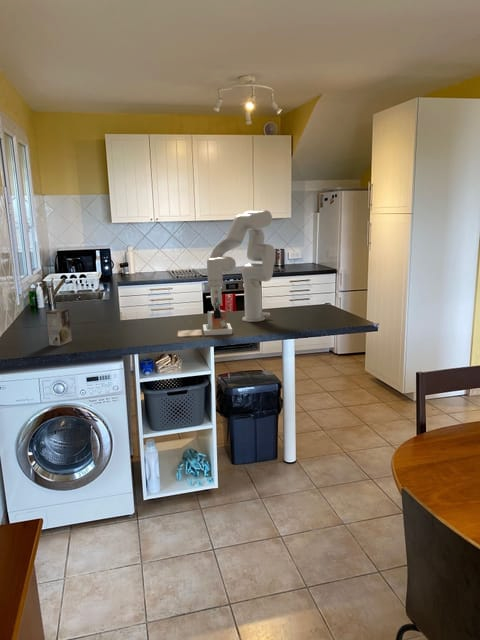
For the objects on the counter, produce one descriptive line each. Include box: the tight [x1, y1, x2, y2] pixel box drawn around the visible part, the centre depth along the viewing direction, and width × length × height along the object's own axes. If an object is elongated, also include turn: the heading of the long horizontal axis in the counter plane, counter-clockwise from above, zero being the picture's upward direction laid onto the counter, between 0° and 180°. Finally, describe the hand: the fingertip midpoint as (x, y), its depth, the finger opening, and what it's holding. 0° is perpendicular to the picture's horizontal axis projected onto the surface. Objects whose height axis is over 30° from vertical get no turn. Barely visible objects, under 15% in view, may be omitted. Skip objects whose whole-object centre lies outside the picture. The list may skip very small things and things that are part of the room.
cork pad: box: [177, 329, 203, 338], centre depth 244 cm, size 12×12×1 cm
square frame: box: [202, 322, 233, 336], centre depth 247 cm, size 14×14×2 cm
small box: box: [207, 309, 227, 330], centre depth 246 cm, size 8×6×10 cm
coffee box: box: [45, 308, 73, 347], centre depth 232 cm, size 9×6×16 cm
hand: (216, 316), depth 245 cm, fingers open, 9 cm apart
